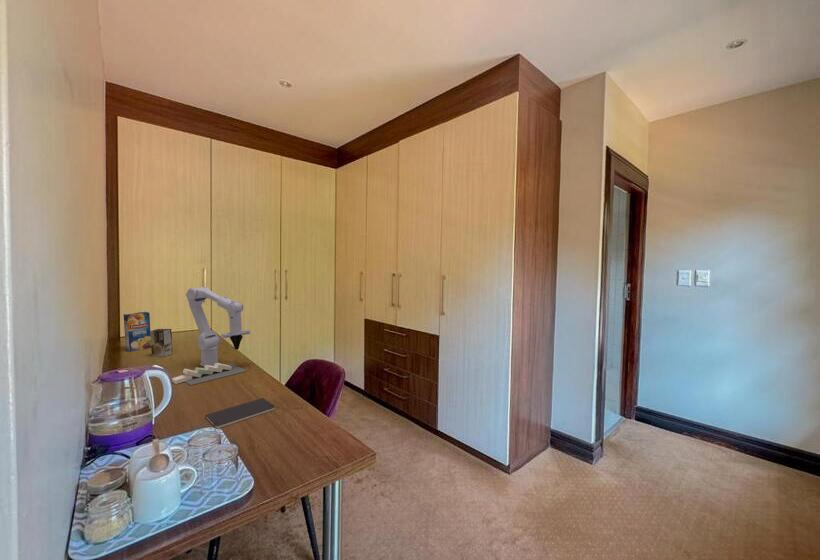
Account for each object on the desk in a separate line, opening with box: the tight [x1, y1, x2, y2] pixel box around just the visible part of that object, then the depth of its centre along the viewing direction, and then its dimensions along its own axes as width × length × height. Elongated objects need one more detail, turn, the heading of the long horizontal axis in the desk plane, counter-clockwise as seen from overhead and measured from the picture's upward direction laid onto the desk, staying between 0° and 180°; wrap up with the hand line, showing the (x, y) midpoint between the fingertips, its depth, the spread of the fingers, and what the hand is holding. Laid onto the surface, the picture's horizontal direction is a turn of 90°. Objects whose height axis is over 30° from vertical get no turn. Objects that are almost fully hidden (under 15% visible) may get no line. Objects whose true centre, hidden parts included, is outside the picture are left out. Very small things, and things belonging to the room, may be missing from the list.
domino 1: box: [171, 373, 192, 385], centre depth 163 cm, size 2×5×7 cm
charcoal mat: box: [176, 363, 248, 387], centre depth 174 cm, size 20×26×1 cm
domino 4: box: [214, 362, 232, 370], centre depth 177 cm, size 2×5×7 cm
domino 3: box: [203, 365, 223, 372], centre depth 174 cm, size 2×5×7 cm
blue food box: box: [123, 311, 152, 353], centre depth 224 cm, size 12×8×24 cm, turn 145°
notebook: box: [205, 397, 276, 429], centre depth 129 cm, size 13×2×21 cm
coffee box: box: [150, 328, 174, 358], centre depth 209 cm, size 9×6×16 cm
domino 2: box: [182, 368, 202, 377], centre depth 167 cm, size 2×5×7 cm
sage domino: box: [193, 367, 213, 375], centre depth 171 cm, size 2×5×7 cm
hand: (236, 349), depth 184 cm, fingers closed
